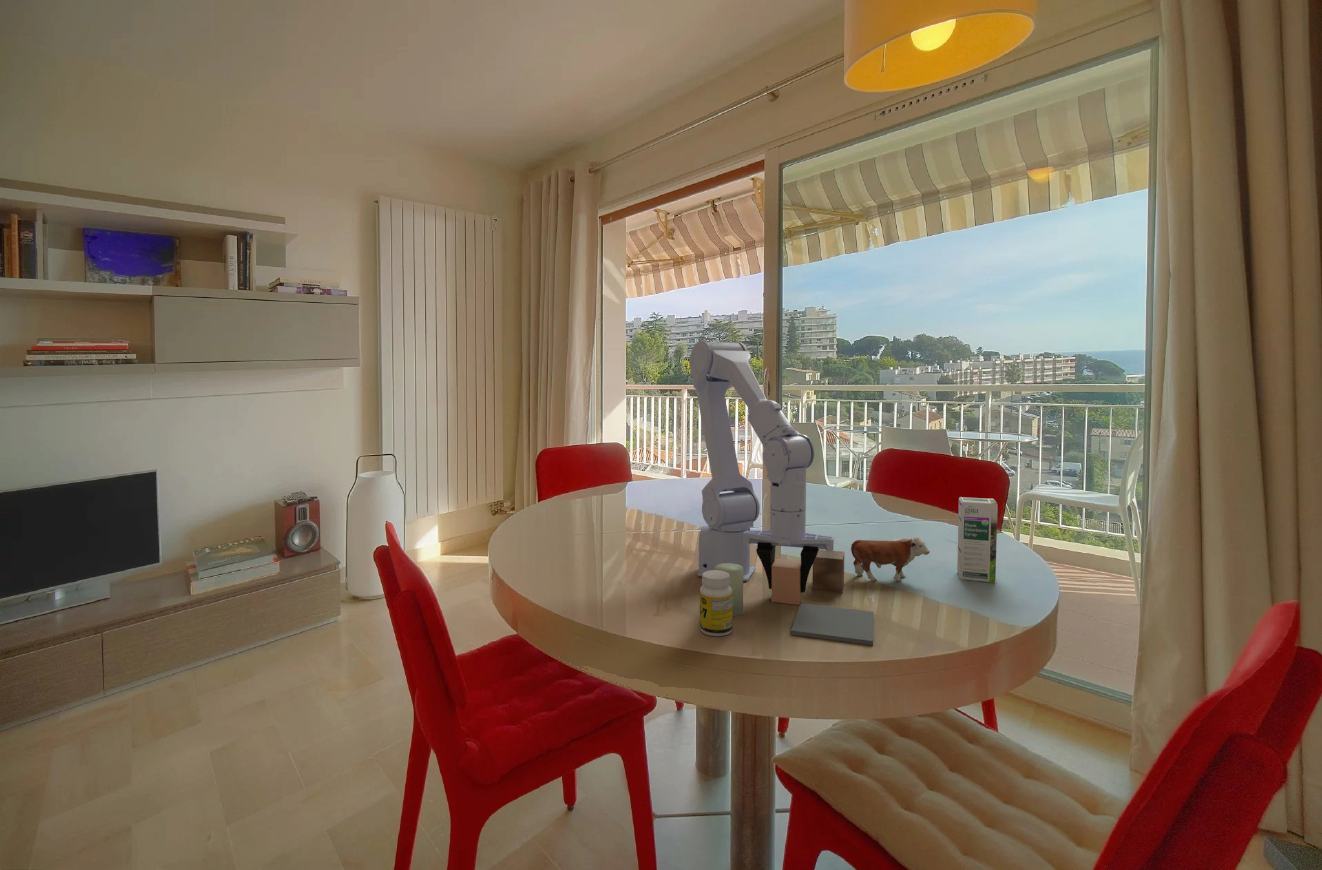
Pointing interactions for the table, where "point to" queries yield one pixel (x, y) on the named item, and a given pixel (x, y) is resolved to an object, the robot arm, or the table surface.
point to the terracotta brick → (786, 581)
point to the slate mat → (834, 624)
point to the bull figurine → (886, 554)
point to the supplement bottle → (716, 603)
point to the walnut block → (828, 571)
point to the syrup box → (977, 539)
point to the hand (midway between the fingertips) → (787, 589)
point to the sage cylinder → (734, 585)
